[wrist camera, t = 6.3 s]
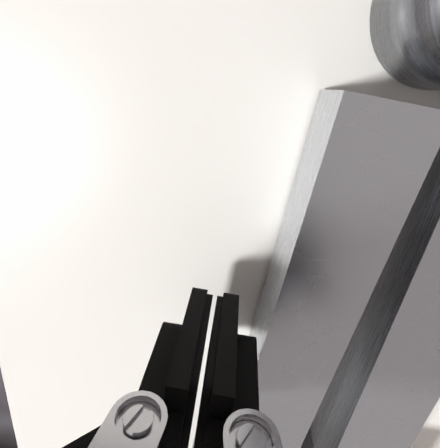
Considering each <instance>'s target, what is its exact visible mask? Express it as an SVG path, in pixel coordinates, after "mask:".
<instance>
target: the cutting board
mask: <svg viewBox="0 0 440 448" xmlns="http://www.w3.org/2000/svg"><path fill="white" fill-rule="evenodd" d="M371 4H372V0H0V367H1V372H2V376H3V381H4V385H5V390H6V395H7V399H8V404H9V408H10V413H11V417H12V422H13V427H14V431H15V436H16V440H17V445H18V448H62V447H64V446H66V445H67V444H69V443H71V442H72V441H74V440H76V439H78V438H79V437H81V436H83V435H85V434H86V433H88V432H90V431H92V430H93V429H95V428H97V427H99V426H100V425H102V423H103V421H104V420H105V418H106V416H107V415H108V413H109V411H110V410H111V408H112V407H113V405H114V404H115V403H116V402H117V400H119V399H120V398H121V397H123V396H124V395H126V394H128V393H131V392H133V391H138V390H139V387H140V384H141V381H142V379H143V376H144V373H145V370H146V368H147V365H148V362H149V359H150V356H151V354H152V351H153V348H154V345H155V343H156V340H157V337H158V334H159V331H160V329H161V326H162V324H163V322H169V323H175V324H181V325H182V324H183V320H184V316H185V313H186V309H187V306H188V302H189V298H190V295H191V291H192V288H193V287H194V288H200V289H206V290H208V292H207V294H211V295H213V298H212V304H211V310H210V317H209V323H208V329H207V335H206V341H205V348H204V354H203V360H202V366H201V372H200V378H199V384H198V390H197V396H196V402H195V408H194V414H193V420H192V426H191V433H190V439H189V445H188V448H192V446H193V442H194V437H195V433H196V427H197V421H198V414H199V407H200V401H201V394H202V387H203V380H204V374H205V367H206V360H207V354H208V348H209V342H210V336H211V330H212V324H213V318H214V312H215V306H216V300H217V296H223V294H224V293H230V294H236V295H239V315H238V334H240V335H246V336H249V334H250V330H251V327H252V324H253V320H254V317H255V313H256V310H257V306H258V303H259V299H260V296H261V292H262V289H263V285H264V282H265V278H266V275H267V271H268V268H269V264H270V261H271V257H272V254H273V250H274V247H275V243H276V240H277V236H278V233H279V229H280V226H281V223H282V219H283V216H284V212H285V209H286V205H287V202H288V198H289V195H290V191H291V188H292V184H293V181H294V177H295V174H296V170H297V167H298V163H299V160H300V156H301V153H302V149H303V146H304V142H305V139H306V135H307V132H308V128H309V125H310V122H311V118H312V115H313V111H314V108H315V104H316V101H317V97H318V94H319V90H320V89H327V90H346V91H351V92H356V93H361V94H366V95H371V96H376V97H381V98H386V99H391V100H396V101H401V102H406V103H411V104H416V105H421V106H426V107H431V108H436V109H440V90H421V89H416V88H412V87H409V86H406V85H404V84H402V83H400V82H399V81H397V80H395V79H394V78H393V77H392V76H390V75H389V74H388V73H387V72H386V70H385V69H384V68H383V67H382V65H381V64H380V62H379V61H378V59H377V56H376V54H375V52H374V49H373V46H372V42H371V36H370V20H369V19H370V9H371ZM301 446H302V445H301ZM410 448H440V398H439V400H438V401H437V403H436V405H435V406H434V408H433V410H432V412H431V413H430V415H429V417H428V418H427V420H426V422H425V423H424V425H423V427H422V428H421V430H420V432H419V433H418V435H417V437H416V438H415V440H414V442H413V444H412V445H411V447H410Z"/></svg>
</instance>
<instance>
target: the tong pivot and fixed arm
mask: <svg viewBox="0 0 440 448" xmlns="http://www.w3.org/2000/svg"><path fill="white" fill-rule="evenodd" d="M369 20H370V36H371V42H372V46H373V49H374V52H375V54H376V56H377V59H378V61H379V62H380V64H381V65H382V67H383V68H384V69H385V70H386V72H387V73H388V74H389V75H390V76H392V77H393V78H394V79H395V80H397V81H399V82H400V83H402V84H404V85H406V86H409V87H412V88H416V89H421V90H440V0H372V4H371V9H370V19H369ZM439 398H440V148H439V150H438V152H437V154H436V156H435V158H434V161H433V163H432V165H431V167H430V169H429V171H428V173H427V176H426V178H425V180H424V182H423V184H422V186H421V189H420V191H419V193H418V195H417V197H416V199H415V202H414V204H413V206H412V208H411V210H410V212H409V214H408V217H407V219H406V221H405V223H404V225H403V227H402V230H401V232H400V234H399V236H398V238H397V240H396V243H395V245H394V247H393V249H392V251H391V253H390V256H389V258H388V260H387V262H386V264H385V266H384V268H383V271H382V273H381V275H380V277H379V279H378V281H377V284H376V286H375V288H374V290H373V292H372V294H371V297H370V299H369V301H368V303H367V305H366V307H365V309H364V312H363V314H362V316H361V318H360V320H359V322H358V325H357V327H356V329H355V331H354V333H353V335H352V338H351V340H350V342H349V344H348V346H347V348H346V350H345V353H344V355H343V357H342V359H341V361H340V363H339V366H338V368H337V370H336V372H335V374H334V376H333V379H332V381H331V383H330V385H329V387H328V389H327V392H326V394H325V396H324V398H323V400H322V402H321V404H320V407H319V409H318V411H317V413H316V415H315V417H314V420H313V422H312V424H311V426H310V428H309V430H308V433H307V435H306V437H305V439H304V441H303V443H302V446H301V448H410V447H411V445H412V444H413V442H414V440H415V438H416V437H417V435H418V433H419V432H420V430H421V428H422V427H423V425H424V423H425V422H426V420H427V418H428V417H429V415H430V413H431V412H432V410H433V408H434V406H435V405H436V403H437V401H438V400H439Z"/></svg>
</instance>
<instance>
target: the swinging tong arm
mask: <svg viewBox="0 0 440 448" xmlns="http://www.w3.org/2000/svg"><path fill="white" fill-rule="evenodd" d="M439 148H440V109H436V108H431V107H426V106H421V105H416V104H411V103H406V102H401V101H396V100H391V99H386V98H381V97H376V96H371V95H366V94H361V93H356V92H351V91H346V90H327V89H320V90H319V94H318V97H317V101H316V104H315V108H314V111H313V115H312V118H311V122H310V125H309V128H308V132H307V135H306V139H305V142H304V146H303V149H302V153H301V156H300V160H299V163H298V167H297V170H296V174H295V177H294V181H293V184H292V188H291V191H290V195H289V198H288V202H287V205H286V209H285V212H284V216H283V219H282V223H281V226H280V229H279V233H278V236H277V240H276V243H275V247H274V250H273V254H272V257H271V261H270V264H269V268H268V271H267V275H266V278H265V282H264V285H263V289H262V292H261V296H260V299H259V303H258V306H257V310H256V313H255V317H254V320H253V324H252V327H251V330H250V334H249V336H252V337H256V339H257V360H258V387H259V412H261V413H264V414H265V415H266V416H267V417H268V418H270V419H271V420H272V422H273V423H274V424H275V426H276V427H277V429H278V432H279V435H280V438H281V442H282V446H283V448H301V445H302V443H303V441H304V439H305V437H306V435H307V433H308V430H309V428H310V426H311V424H312V422H313V420H314V417H315V415H316V413H317V411H318V409H319V407H320V404H321V402H322V400H323V398H324V396H325V394H326V392H327V389H328V387H329V385H330V383H331V381H332V379H333V376H334V374H335V372H336V370H337V368H338V366H339V363H340V361H341V359H342V357H343V355H344V353H345V350H346V348H347V346H348V344H349V342H350V340H351V338H352V335H353V333H354V331H355V329H356V327H357V325H358V322H359V320H360V318H361V316H362V314H363V312H364V309H365V307H366V305H367V303H368V301H369V299H370V297H371V294H372V292H373V290H374V288H375V286H376V284H377V281H378V279H379V277H380V275H381V273H382V271H383V268H384V266H385V264H386V262H387V260H388V258H389V256H390V253H391V251H392V249H393V247H394V245H395V243H396V240H397V238H398V236H399V234H400V232H401V230H402V227H403V225H404V223H405V221H406V219H407V217H408V214H409V212H410V210H411V208H412V206H413V204H414V202H415V199H416V197H417V195H418V193H419V191H420V189H421V186H422V184H423V182H424V180H425V178H426V176H427V173H428V171H429V169H430V167H431V165H432V163H433V161H434V158H435V156H436V154H437V152H438V150H439ZM195 434H196V433H195ZM194 441H195V437H194ZM192 448H194V442H193V446H192Z"/></svg>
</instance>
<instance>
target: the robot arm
mask: <svg viewBox="0 0 440 448" xmlns="http://www.w3.org/2000/svg"><path fill="white" fill-rule="evenodd" d="M207 292H208V290H206V289H200V288H194V287H193V288H192V291H191V295H190V298H189V302H188V306H187V309H186V313H185V316H184V320H183V324H182V325H181V324H175V323H169V322H163V324H162V326H161V329H160V331H159V334H158V337H157V340H156V343H155V345H154V348H153V351H152V354H151V356H150V359H149V362H148V365H147V368H146V370H145V373H144V376H143V379H142V381H141V384H140V387H139V390H138V391H133V392H131V393H128V394H126V395H124V396H123V397H121V398H120V399H119V400H117V402H116V403H115V404H114V405H113V407H112V408H111V410H110V411H109V413H108V415H107V416H106V418H105V420H104V421H103V423H102V425H100V426H99V427H97V428H95V429H93V430H92V431H90V432H88V433H86V434H85V435H83V436H81V437H79V438H78V439H76V440H74V441H72V442H71V443H69V444H67V445H66V446H64V447H62V448H188V445H189V439H190V433H191V426H192V420H193V414H194V408H195V402H196V396H197V390H198V384H199V378H200V372H201V366H202V360H203V354H204V348H205V341H206V335H207V329H208V323H209V317H210V310H211V304H212V298H213V295H211V294H207ZM238 315H239V295H236V294H230V293H224V294H223V296H217V300H216V306H215V312H214V318H213V324H212V330H211V336H210V342H209V348H208V354H207V360H206V367H205V374H204V380H203V387H202V394H201V401H200V407H199V414H198V421H197V427H196V434H195V441H194V448H283V446H282V442H281V438H280V435H279V432H278V429H277V427H276V426H275V424H274V423H273V422H272V420H271V419H270V418H268V417H267V416H266V415H265V414H264V413H261V412H259V387H258V360H257V339H256V337H252V336H246V335H240V334H238Z"/></svg>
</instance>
